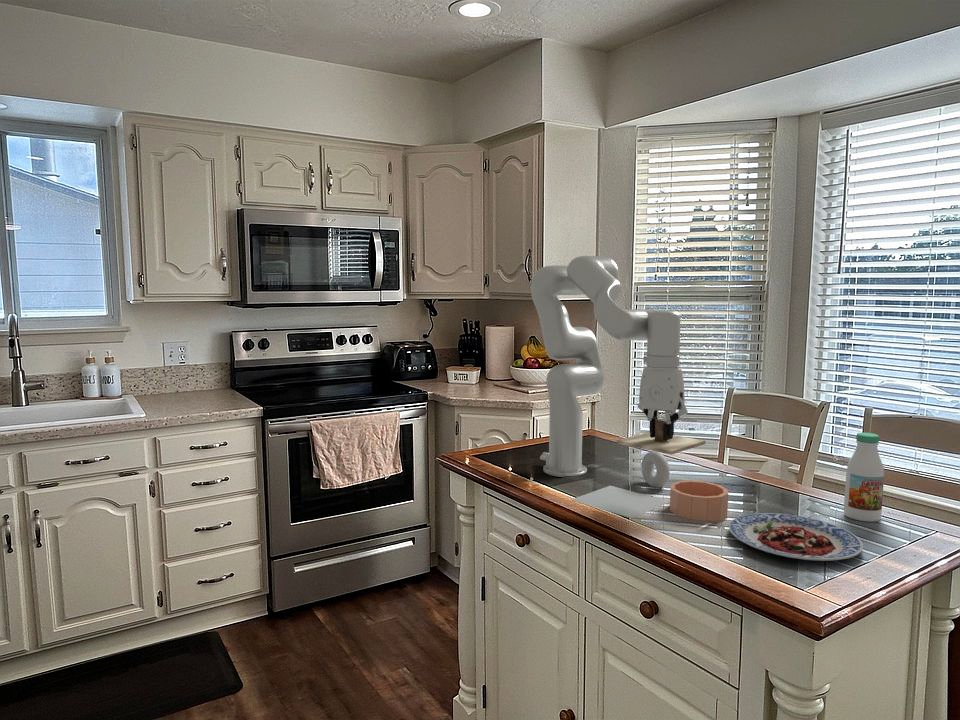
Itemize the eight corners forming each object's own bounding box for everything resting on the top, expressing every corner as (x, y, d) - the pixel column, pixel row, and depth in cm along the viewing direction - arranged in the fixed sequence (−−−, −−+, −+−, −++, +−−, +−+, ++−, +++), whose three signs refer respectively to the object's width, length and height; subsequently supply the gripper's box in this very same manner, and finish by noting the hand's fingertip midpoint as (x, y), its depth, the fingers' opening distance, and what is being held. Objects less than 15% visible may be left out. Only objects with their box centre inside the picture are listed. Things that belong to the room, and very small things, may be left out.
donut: (671, 492, 175) (673, 455, 174) (661, 493, 174) (662, 456, 173) (648, 481, 185) (649, 446, 183) (637, 483, 183) (639, 447, 182)
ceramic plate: (893, 561, 133) (894, 546, 133) (786, 576, 126) (787, 561, 125) (797, 517, 158) (798, 505, 157) (704, 528, 150) (704, 515, 150)
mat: (570, 502, 167) (570, 499, 167) (610, 487, 179) (610, 485, 179) (631, 520, 154) (631, 518, 154) (670, 503, 166) (670, 501, 166)
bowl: (659, 512, 160) (660, 488, 159) (686, 500, 169) (687, 477, 168) (710, 527, 150) (711, 501, 150) (736, 513, 159) (737, 489, 159)
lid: (616, 443, 161) (617, 420, 161) (651, 434, 171) (652, 412, 171) (671, 454, 150) (672, 429, 150) (705, 444, 160) (706, 420, 160)
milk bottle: (835, 513, 159) (841, 432, 157) (858, 509, 162) (864, 429, 160) (865, 524, 152) (872, 439, 150) (888, 520, 155) (895, 436, 153)
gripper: (625, 361, 162) (624, 435, 164) (685, 366, 150) (683, 446, 152) (642, 358, 167) (641, 430, 169) (702, 363, 155) (700, 441, 157)
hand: (661, 437), depth 161 cm, fingers closed on lid, 3 cm apart
